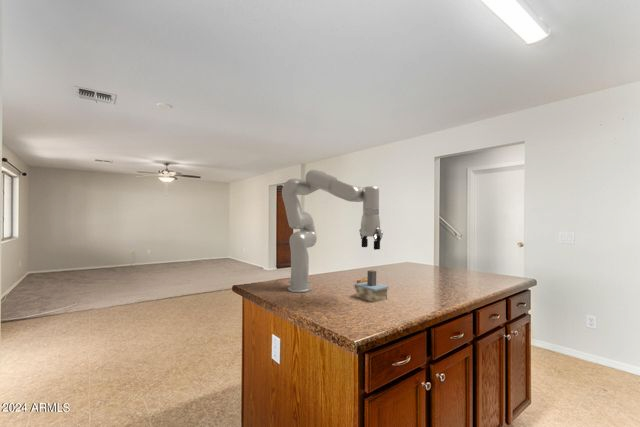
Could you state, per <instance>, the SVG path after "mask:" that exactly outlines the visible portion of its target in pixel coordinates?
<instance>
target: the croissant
mask: <svg viewBox="0 0 640 427" xmlns="http://www.w3.org/2000/svg"><path fill="white" fill-rule="evenodd" d="M367 279H368V276H365V277H362V278H361V279H359V280H356V284H358V283H363V282H367Z"/></svg>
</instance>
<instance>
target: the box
mask: <svg viewBox="0 0 640 427" xmlns="http://www.w3.org/2000/svg"><path fill="white" fill-rule="evenodd" d="M355 291H356V293H355V294H356V295H355V296H356V298H358V299H359V298H360V299H363V300H366V301H369V302H372V303H379V302H382V301H385V300H388V288H387V289H382V290H378V291H372V290H369V289H365V288H362V287H358V286H356V290H355Z"/></svg>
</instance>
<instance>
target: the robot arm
mask: <svg viewBox="0 0 640 427" xmlns="http://www.w3.org/2000/svg"><path fill="white" fill-rule="evenodd" d="M318 190H322V191H324V192H327V193H329V194H330V195H332V196H334V197H337V198H339V199H342V200H344V201H347V202H352V203H361V202H362V216H361V222H360V229H359V236H360V240H361V248H368V246H369V245H368V242H369V241H368V237H372V238H373V250H374V251H376V250H381V240H382V239H383V235H384V231H383V230H382V229H381V219H380V189H379V187H378V186H373V185H372V186H365V187H363V186H362V187H361V186H356V185H351V184H348V183H346V182H343V181H341V180H338V178H337V177H335V176H333V175H331V174H329V173H328V174H327V173H326V172H325V171H323V170H322V171H321V170H317V169H311V170H309V171H308V172H306V174H305V179H300V178H291V179H288V180H286V181H285V182H284V184H283V185H282V189H281V197H282V201H283V203H284V208H285V214H286V218H287V222H288V226H289V228H291V229H292V230H299V231H295V232H293V233H292V234H291V235H290V236H289V248H290V280H289V281H288V284H289V286H288V287H287V291H289V292H291V293H306V292H307V293H308V292H310V291H311V290H312V286H310V285H309V252H308V248H312V247H313V246H315V245H316V243H317V238H318V237H317V233H316V228H315V223H314V219H313V217H312V215H311V214H310V213H309V212H307V211H303V210H302V205H301V201H300V200H299V198H298V196H308V195H310V194H313V193H314V192H317V191H318Z"/></svg>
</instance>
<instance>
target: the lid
mask: <svg viewBox="0 0 640 427" xmlns="http://www.w3.org/2000/svg"><path fill="white" fill-rule="evenodd" d="M367 278H368V279H367V282H363V283H358V284H357V283H355V284H354V286H355V287H357V286H358V287H362V288H365V289H369V290H372V291H378V290H382V289H387V290H388V289H389V288H390V286H388V285H385V284H381V283H377V270H373V269H371V270H367Z"/></svg>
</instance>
